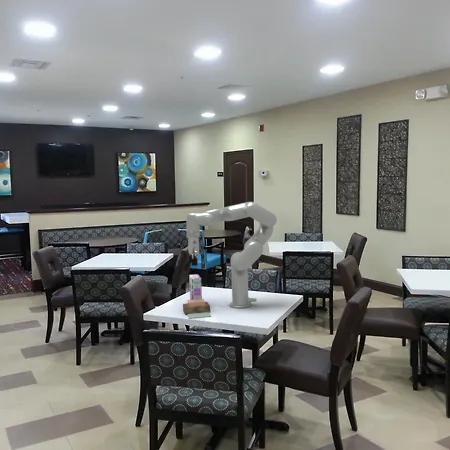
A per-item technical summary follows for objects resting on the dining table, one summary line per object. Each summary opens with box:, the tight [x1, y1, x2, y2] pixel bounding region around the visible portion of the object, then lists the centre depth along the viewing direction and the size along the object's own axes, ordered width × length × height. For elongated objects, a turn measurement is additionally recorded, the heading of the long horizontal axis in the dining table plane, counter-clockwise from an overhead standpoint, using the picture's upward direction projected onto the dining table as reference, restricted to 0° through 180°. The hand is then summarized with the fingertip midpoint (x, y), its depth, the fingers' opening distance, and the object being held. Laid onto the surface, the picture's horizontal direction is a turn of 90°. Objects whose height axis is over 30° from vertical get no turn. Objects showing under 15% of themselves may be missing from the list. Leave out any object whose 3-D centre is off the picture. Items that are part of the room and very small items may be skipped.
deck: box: [182, 301, 211, 316], centre depth 266 cm, size 14×9×4 cm, turn 103°
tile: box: [187, 298, 206, 307], centre depth 265 cm, size 9×6×2 cm, turn 103°
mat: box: [186, 312, 212, 320], centre depth 258 cm, size 12×8×1 cm, turn 103°
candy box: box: [188, 273, 203, 300], centre depth 285 cm, size 14×6×16 cm, turn 11°
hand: (193, 264), depth 270 cm, fingers open, 9 cm apart
